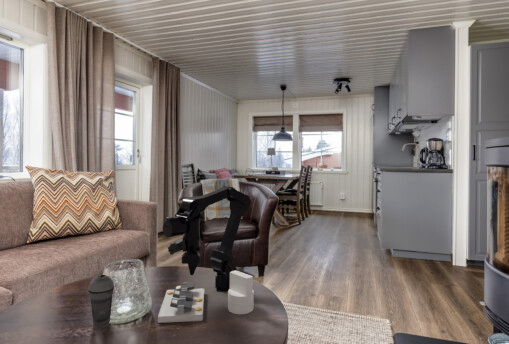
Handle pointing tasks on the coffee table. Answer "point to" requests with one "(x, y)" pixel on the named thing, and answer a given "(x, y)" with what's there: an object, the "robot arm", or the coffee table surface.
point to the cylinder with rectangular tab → (240, 293)
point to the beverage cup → (101, 299)
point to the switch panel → (182, 307)
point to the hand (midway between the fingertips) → (191, 274)
